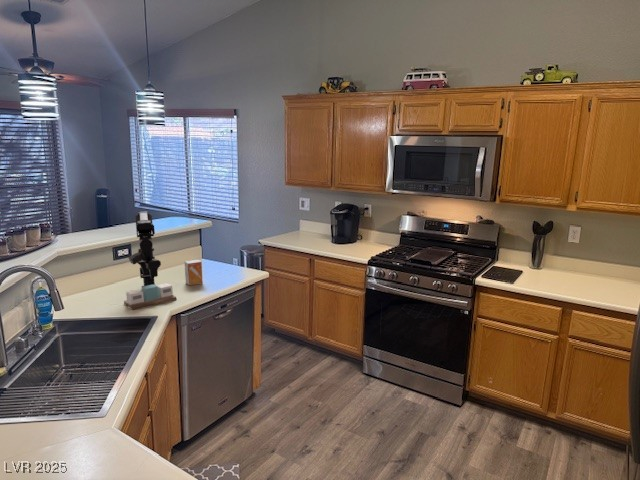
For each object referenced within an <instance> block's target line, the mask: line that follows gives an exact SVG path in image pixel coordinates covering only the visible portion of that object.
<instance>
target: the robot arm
mask: <svg viewBox="0 0 640 480" xmlns="http://www.w3.org/2000/svg"><path fill="white" fill-rule="evenodd" d="M135 228H136V229H135V230H136V237H137V238H139V239H138V240H139V248H138V250H137V252H136V253H135V252H134V253H133V254H132V255H130V256H128V257H127V258H128V260H129V262H130V264H132V265H137V264H138V266H140V267H139V273H140V279H143V281H142V282H143V285H141V288H142V287H143V286H148V285H153V284H154V285H155V286H156V285H157V284H156V283H155V278H157V277H158V276H159V275H158V274H159V273H158V269H159V268H160V267H161V266H162V262H161V260H159V259H157V258H156V257H155V256H154V251H155V248H153V237H155V236H154V235H155V234H156V233H155V225H154V224H153V216H152V215H151V214H150V213H149V211H147V210H146V211H139V212H137V215H135Z"/></svg>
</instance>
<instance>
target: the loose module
mask: <svg viewBox="0 0 640 480" xmlns="http://www.w3.org/2000/svg"><path fill="white" fill-rule="evenodd" d="M155 285H156V284H155ZM155 285H154V284H153V285H148V286H144V285H142V286H143V287H142V286H141V291H142V292H143V298H144V299H145V300H146V301H147V300H151V299H156V298H158V288H157V286H155Z"/></svg>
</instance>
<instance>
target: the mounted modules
mask: <svg viewBox="0 0 640 480" xmlns="http://www.w3.org/2000/svg"><path fill="white" fill-rule="evenodd" d="M155 285H156V286H157V288H158V296H160V297H166V296H170V295H174V294H173V285H172V284H170V283H168V282H166V283H161V284H155ZM125 294H126V295H125V297H126V300H127V302H129V303H130V304H136V303H140V302H144V298H143V292H142V289H141V290H140V289H132V290H129V291H125Z"/></svg>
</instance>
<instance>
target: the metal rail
mask: <svg viewBox="0 0 640 480" xmlns="http://www.w3.org/2000/svg"><path fill="white" fill-rule="evenodd" d="M170 296H175V294H173V295H170ZM170 296H166V297H170ZM166 297H160V296H158V298H156V299H151V300H147V301H146V300H145V299H144V302H148V301H153V300H157V299H161V298H166ZM125 301H126V300H125ZM144 302H140V303H144ZM126 303H127V304H129V305H130V306H131V305H136V304H140V303H136V304H130V303H129V302H127V301H126Z"/></svg>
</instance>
